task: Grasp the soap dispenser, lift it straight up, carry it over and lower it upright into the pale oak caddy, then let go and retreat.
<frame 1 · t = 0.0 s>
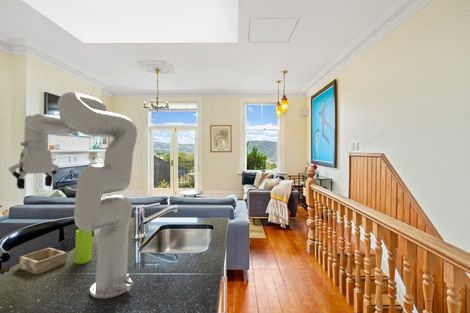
hand: (35, 187, 98), 31 cm above the counter, tool pointing down, fingers open, 9 cm apart
oak caddy: (43, 265, 96), on the counter
soap dispenser: (84, 261, 101), on the counter
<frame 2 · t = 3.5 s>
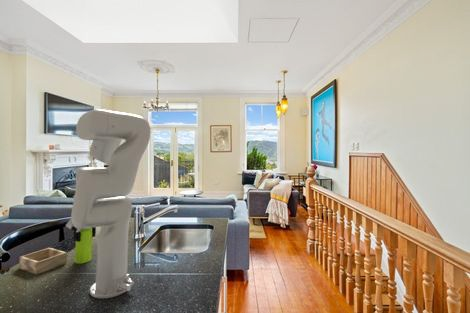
hand: (84, 238, 101), 10 cm above the counter, tool pointing down, fingers closed on soap dispenser, 5 cm apart
soap dispenser: (84, 261, 101), on the counter, touching gripper
when the fingers open (11 cm above the counter, at t = 9.1 s): soap dispenser drops 1 cm, resting on oak caddy.
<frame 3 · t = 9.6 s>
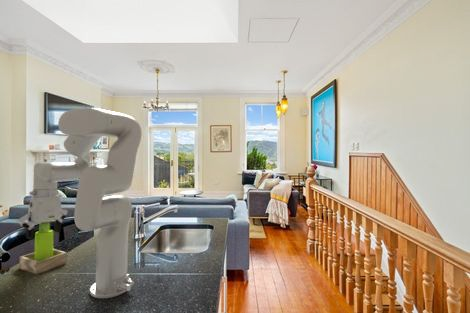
hand: (44, 235, 96), 12 cm above the counter, tool pointing down, fingers open, 9 cm apart
soap dispenser: (44, 264, 96), resting on oak caddy
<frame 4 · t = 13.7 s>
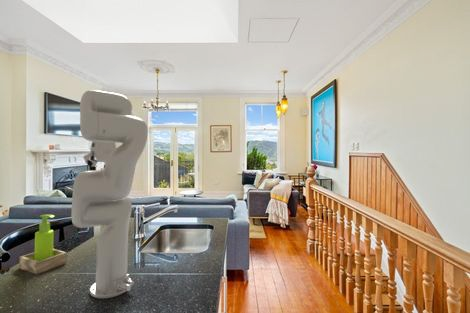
hand: (102, 175, 106), 36 cm above the counter, tool pointing down, fingers open, 9 cm apart
nothing on the counter moved.
at the end: soap dispenser 0.4 cm off-centre on the oak caddy, point 0.3 cm above the oak caddy's base; soap dispenser tilted 0°; the gripper is holding nothing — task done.
